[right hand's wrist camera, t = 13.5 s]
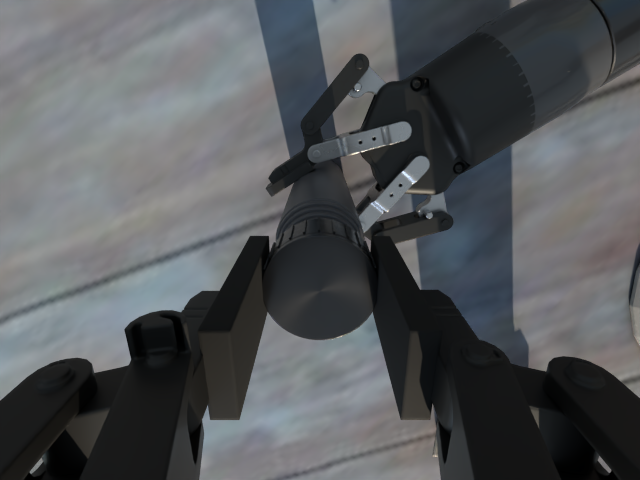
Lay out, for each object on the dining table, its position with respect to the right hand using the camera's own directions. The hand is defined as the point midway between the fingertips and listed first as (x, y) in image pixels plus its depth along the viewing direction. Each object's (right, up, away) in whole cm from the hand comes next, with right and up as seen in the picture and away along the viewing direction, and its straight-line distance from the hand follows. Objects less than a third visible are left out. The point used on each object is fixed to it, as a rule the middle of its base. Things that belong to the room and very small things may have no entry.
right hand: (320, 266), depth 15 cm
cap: (0, -1, -2) cm, 2 cm away
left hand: (-2, +3, +12) cm, 12 cm away
